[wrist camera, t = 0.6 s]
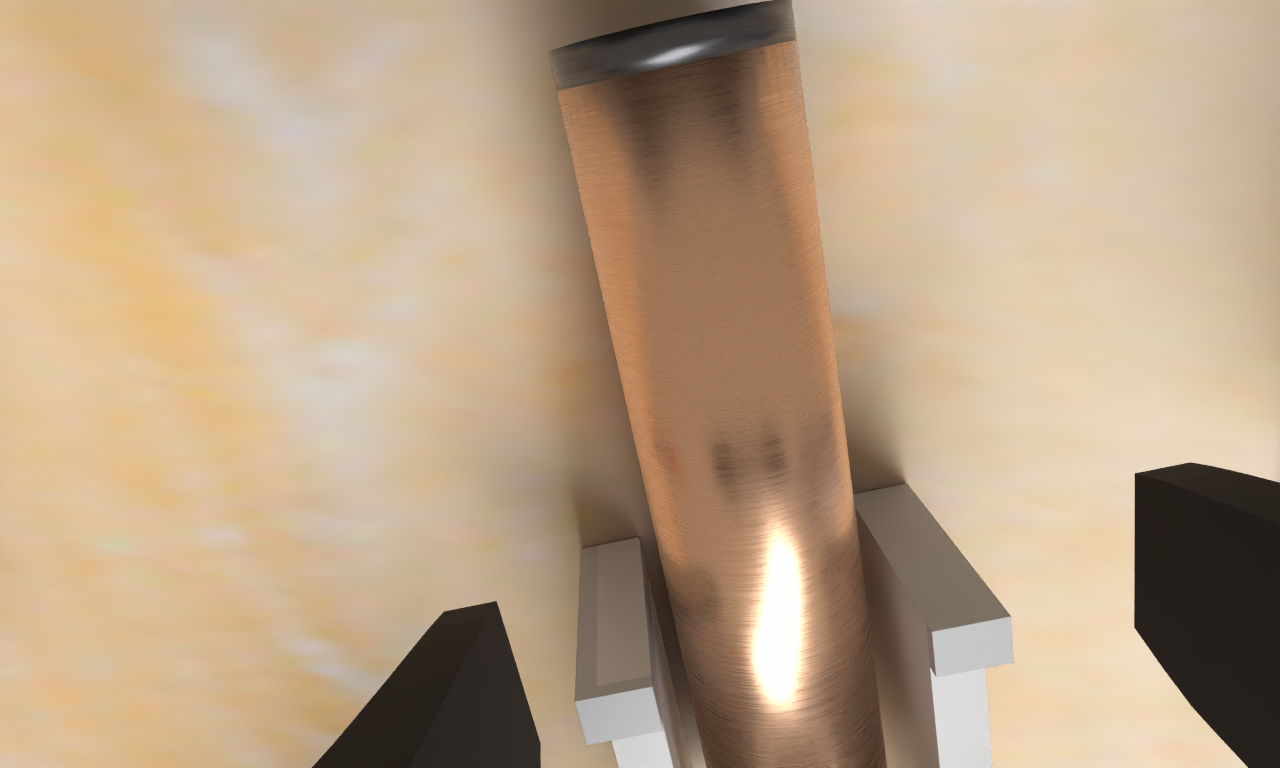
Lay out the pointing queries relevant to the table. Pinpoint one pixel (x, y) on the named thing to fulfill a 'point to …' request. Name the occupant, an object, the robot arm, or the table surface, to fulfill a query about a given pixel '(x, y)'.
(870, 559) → the u-shaped bracket
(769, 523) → the tube
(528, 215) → the table surface
